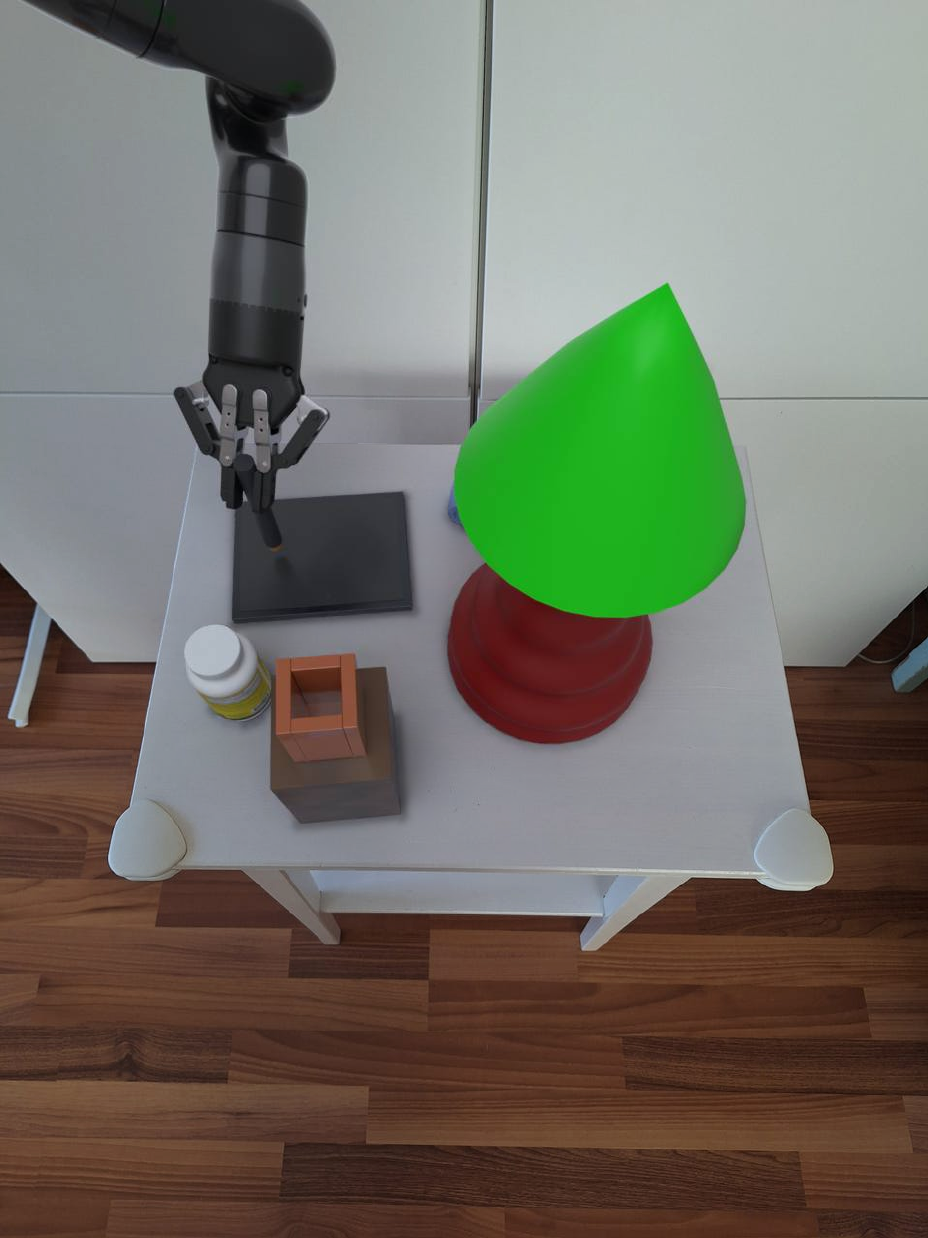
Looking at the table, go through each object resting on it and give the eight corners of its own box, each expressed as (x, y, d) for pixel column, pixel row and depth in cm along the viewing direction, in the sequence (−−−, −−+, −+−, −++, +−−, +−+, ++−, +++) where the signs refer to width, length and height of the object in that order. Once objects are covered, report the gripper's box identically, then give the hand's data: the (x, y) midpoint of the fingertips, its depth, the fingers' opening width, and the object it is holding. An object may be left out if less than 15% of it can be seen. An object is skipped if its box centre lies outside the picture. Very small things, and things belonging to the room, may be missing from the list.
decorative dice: (454, 493, 85) (455, 471, 81) (490, 499, 84) (492, 478, 81) (447, 523, 83) (447, 502, 79) (483, 529, 83) (485, 509, 79)
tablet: (233, 623, 77) (231, 619, 76) (237, 506, 83) (235, 501, 82) (412, 610, 78) (411, 605, 77) (403, 496, 84) (403, 490, 83)
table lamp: (439, 569, 80) (443, 152, 40) (624, 558, 82) (810, 142, 41) (455, 753, 72) (480, 464, 31) (660, 737, 74) (940, 439, 33)
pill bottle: (213, 663, 75) (179, 615, 65) (277, 663, 75) (253, 615, 65) (205, 724, 73) (168, 683, 63) (271, 724, 73) (245, 683, 63)
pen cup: (294, 763, 57) (275, 734, 50) (294, 695, 59) (275, 658, 53) (367, 757, 58) (357, 727, 51) (363, 689, 60) (354, 652, 53)
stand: (300, 824, 69) (269, 789, 56) (299, 728, 73) (270, 675, 60) (400, 814, 70) (392, 778, 57) (394, 720, 73) (385, 666, 61)
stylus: (266, 553, 78) (232, 471, 65) (266, 538, 78) (233, 454, 66) (284, 552, 78) (254, 470, 65) (284, 537, 78) (254, 452, 66)
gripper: (154, 284, 59) (152, 505, 65) (328, 312, 58) (310, 532, 64) (196, 291, 66) (191, 489, 72) (351, 316, 65) (333, 514, 71)
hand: (247, 509), depth 68 cm, fingers closed on stylus, 2 cm apart
